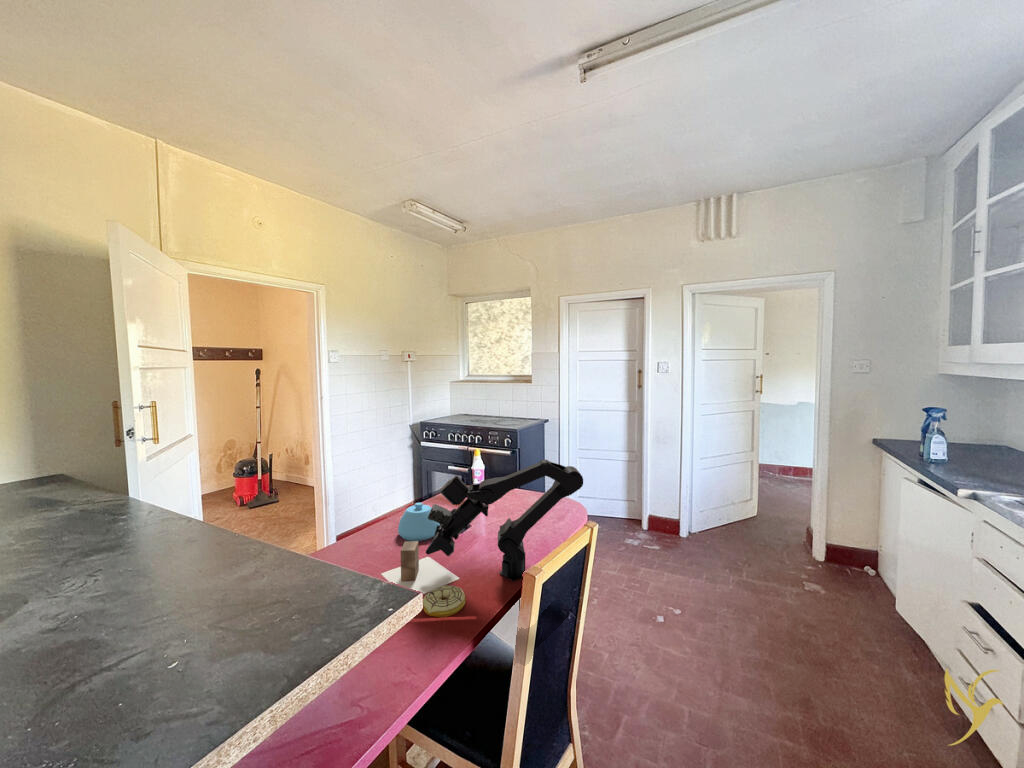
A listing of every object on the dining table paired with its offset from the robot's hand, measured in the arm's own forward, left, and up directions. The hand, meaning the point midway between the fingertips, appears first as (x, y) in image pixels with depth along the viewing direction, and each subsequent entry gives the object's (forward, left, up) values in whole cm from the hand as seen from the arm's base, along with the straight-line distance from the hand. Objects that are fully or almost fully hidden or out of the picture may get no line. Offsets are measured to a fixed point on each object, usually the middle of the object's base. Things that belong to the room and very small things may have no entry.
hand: (426, 553), depth 118 cm
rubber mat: (+2, -1, -7) cm, 8 cm away
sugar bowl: (-13, -29, -8) cm, 33 cm away
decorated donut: (+4, +16, -8) cm, 18 cm away
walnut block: (+4, -3, -7) cm, 8 cm away
